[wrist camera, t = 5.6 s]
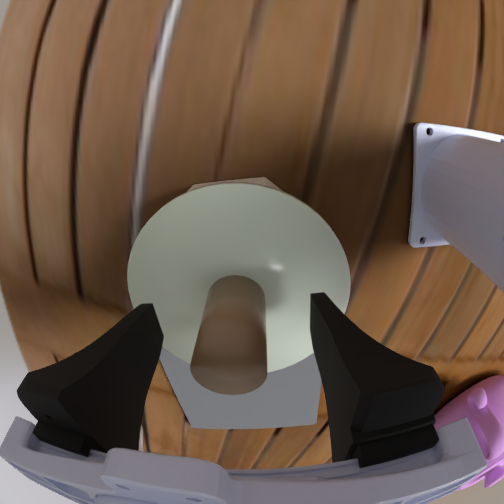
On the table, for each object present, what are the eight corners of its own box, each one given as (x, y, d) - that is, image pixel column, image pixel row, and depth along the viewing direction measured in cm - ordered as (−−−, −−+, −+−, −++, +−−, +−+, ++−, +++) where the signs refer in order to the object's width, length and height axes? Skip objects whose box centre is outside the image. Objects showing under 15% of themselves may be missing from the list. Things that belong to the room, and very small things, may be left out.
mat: (324, 331, 21) (325, 334, 20) (315, 420, 26) (316, 423, 26) (154, 339, 21) (153, 343, 21) (192, 424, 27) (192, 427, 27)
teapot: (522, 387, 28) (552, 441, 16) (421, 453, 34) (439, 516, 21) (540, 308, 20) (598, 381, 8) (398, 409, 26) (430, 512, 14)
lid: (377, 211, 13) (434, 264, 8) (309, 377, 19) (319, 446, 14) (134, 164, 13) (68, 196, 8) (135, 348, 18) (108, 413, 13)
